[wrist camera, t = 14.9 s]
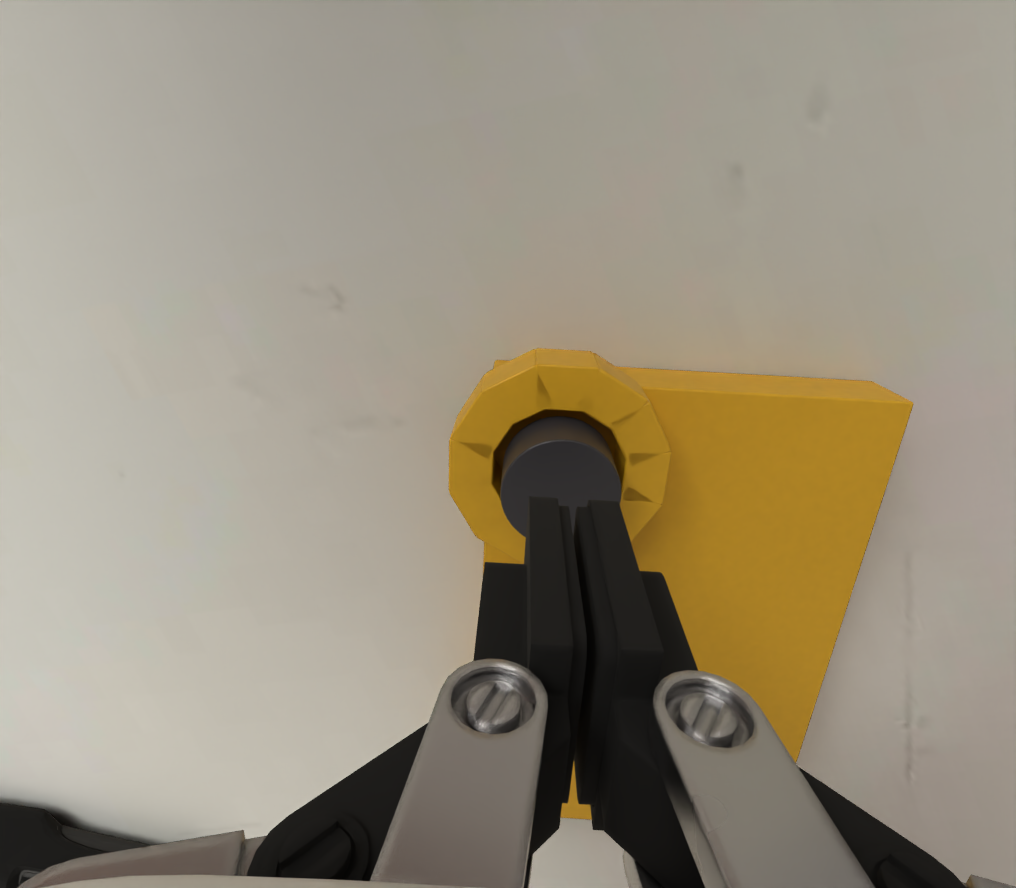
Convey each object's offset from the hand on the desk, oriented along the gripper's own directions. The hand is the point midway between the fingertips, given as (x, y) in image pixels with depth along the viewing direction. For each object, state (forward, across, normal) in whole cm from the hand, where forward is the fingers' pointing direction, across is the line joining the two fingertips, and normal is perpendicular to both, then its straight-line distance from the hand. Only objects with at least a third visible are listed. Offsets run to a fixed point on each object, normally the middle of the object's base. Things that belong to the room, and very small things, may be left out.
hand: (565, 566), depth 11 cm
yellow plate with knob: (+9, -4, +7) cm, 12 cm away
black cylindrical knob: (+5, 0, 0) cm, 5 cm away
